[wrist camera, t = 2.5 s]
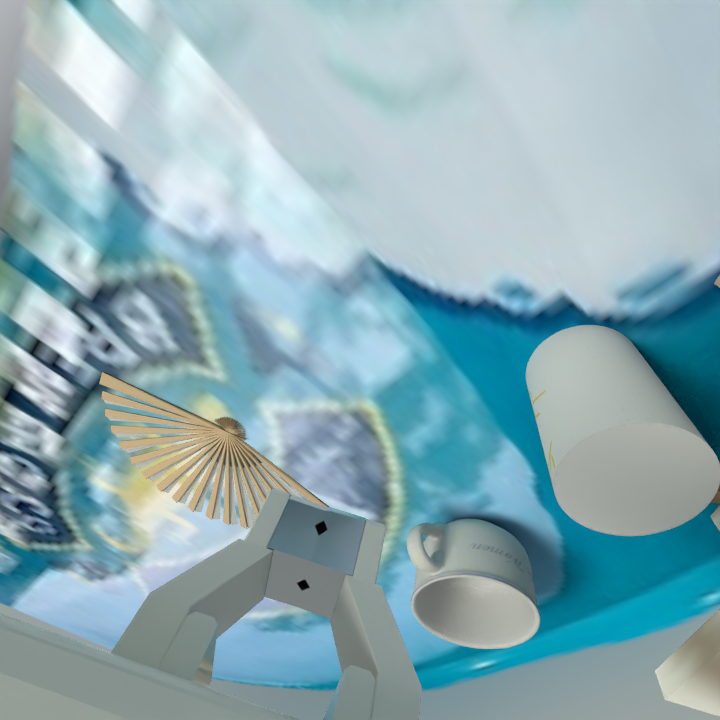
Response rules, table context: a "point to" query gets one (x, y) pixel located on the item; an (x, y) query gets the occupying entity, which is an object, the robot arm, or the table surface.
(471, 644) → the teacup
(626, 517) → the cup
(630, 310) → the table surface
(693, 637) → the marbled side table
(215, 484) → the hand fan
